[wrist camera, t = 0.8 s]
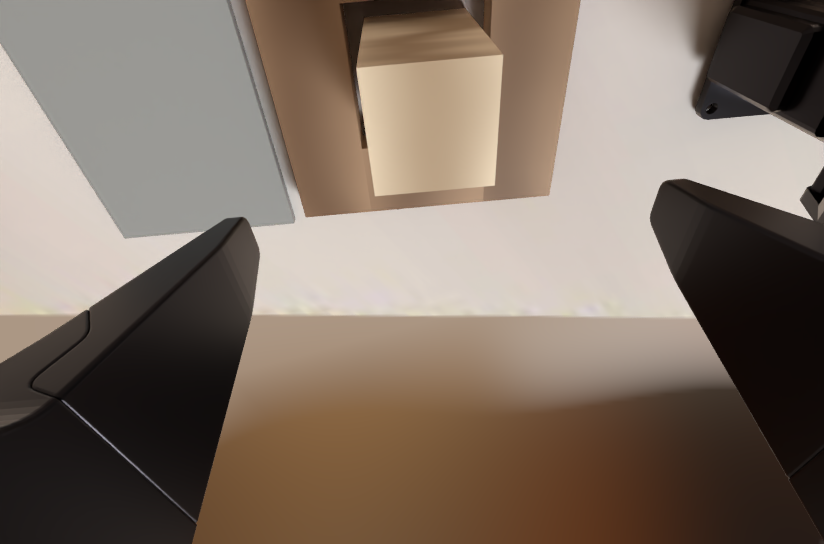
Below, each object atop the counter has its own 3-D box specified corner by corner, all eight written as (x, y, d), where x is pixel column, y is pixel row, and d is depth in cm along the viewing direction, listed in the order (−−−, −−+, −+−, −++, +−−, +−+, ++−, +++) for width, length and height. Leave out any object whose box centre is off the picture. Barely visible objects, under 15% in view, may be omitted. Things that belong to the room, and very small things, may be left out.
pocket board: (586, -143, 14) (604, -147, 13) (540, 180, 22) (549, 195, 21) (227, -109, 14) (214, -111, 13) (309, 201, 22) (305, 217, 21)
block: (464, 7, 17) (503, 54, 11) (464, 109, 19) (494, 185, 14) (364, 17, 17) (355, 68, 12) (376, 117, 19) (375, 196, 14)
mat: (185, -148, 14) (180, -150, 13) (295, 219, 23) (294, 223, 22) (-95, -122, 14) (-105, -122, 13) (128, 234, 23) (124, 238, 22)
